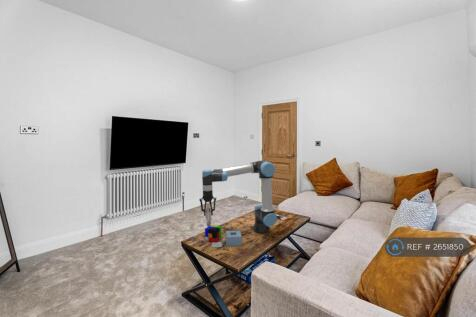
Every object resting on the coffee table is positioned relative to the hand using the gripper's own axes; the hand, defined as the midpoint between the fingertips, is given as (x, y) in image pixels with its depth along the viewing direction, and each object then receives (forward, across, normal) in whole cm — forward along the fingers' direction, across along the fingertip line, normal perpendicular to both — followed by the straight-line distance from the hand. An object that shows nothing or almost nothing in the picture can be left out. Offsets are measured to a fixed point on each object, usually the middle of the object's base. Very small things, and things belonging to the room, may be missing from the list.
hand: (208, 219), depth 172 cm
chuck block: (+21, -18, -3) cm, 28 cm away
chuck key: (+5, 0, 0) cm, 5 cm away
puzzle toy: (+21, -3, -10) cm, 24 cm away
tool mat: (+21, -6, 0) cm, 22 cm away
